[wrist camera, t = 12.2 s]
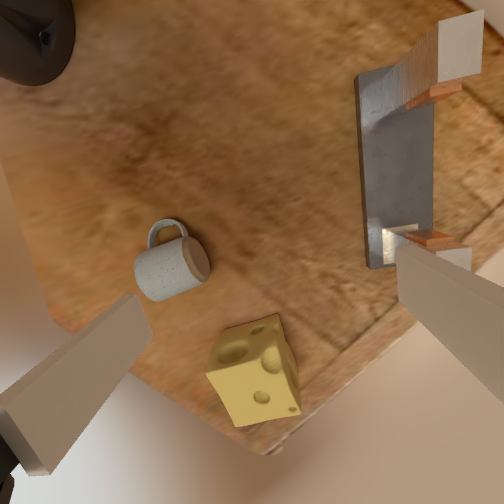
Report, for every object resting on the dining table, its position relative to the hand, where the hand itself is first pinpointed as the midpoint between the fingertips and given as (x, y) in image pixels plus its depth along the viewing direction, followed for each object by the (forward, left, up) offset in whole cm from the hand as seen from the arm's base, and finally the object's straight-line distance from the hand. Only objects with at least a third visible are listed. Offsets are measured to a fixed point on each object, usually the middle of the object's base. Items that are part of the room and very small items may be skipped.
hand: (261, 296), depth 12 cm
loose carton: (+5, +17, -22) cm, 28 cm away
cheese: (+21, -5, -24) cm, 32 cm away
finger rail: (-3, +17, -23) cm, 29 cm away
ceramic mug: (+2, -15, -24) cm, 28 cm away
